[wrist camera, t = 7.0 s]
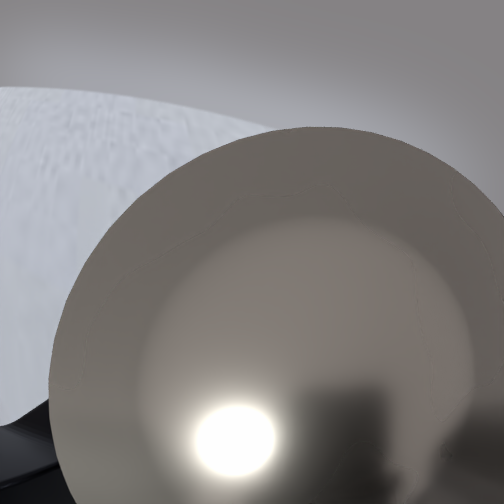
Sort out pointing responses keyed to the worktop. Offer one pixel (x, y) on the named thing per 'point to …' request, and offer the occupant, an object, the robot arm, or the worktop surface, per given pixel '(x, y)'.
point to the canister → (289, 333)
